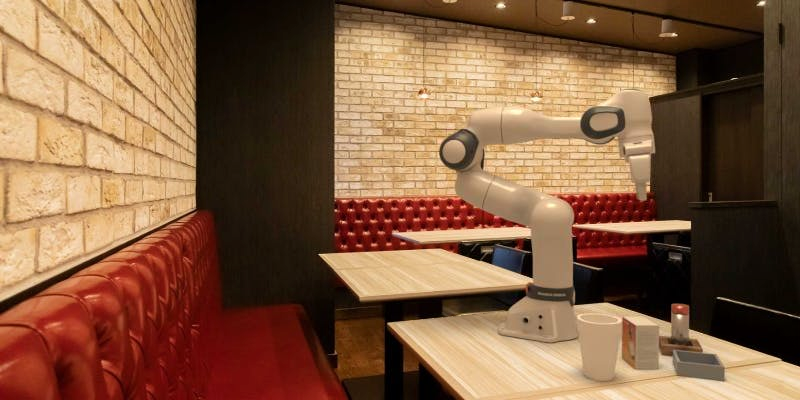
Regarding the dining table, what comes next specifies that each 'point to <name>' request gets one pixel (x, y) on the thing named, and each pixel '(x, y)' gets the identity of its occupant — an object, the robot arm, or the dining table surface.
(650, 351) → the small box
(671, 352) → the wooden square frame
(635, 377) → the dining table surface
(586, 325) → the foam cup
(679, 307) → the red-lidded jar
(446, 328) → the dining table surface
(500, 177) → the robot arm
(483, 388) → the dining table surface
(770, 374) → the dining table surface
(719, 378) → the tray
